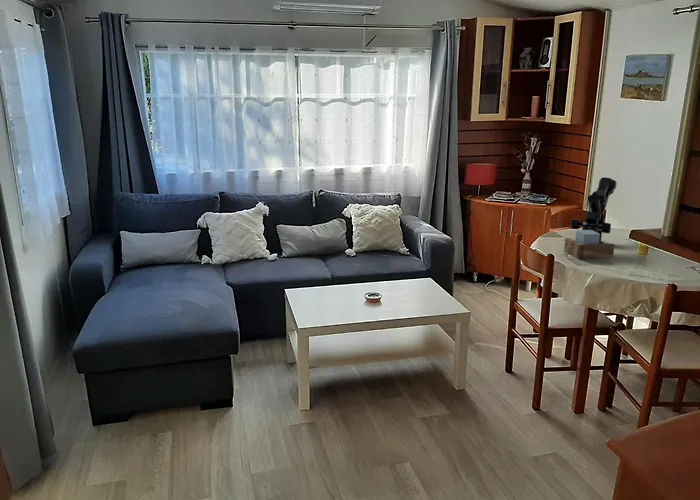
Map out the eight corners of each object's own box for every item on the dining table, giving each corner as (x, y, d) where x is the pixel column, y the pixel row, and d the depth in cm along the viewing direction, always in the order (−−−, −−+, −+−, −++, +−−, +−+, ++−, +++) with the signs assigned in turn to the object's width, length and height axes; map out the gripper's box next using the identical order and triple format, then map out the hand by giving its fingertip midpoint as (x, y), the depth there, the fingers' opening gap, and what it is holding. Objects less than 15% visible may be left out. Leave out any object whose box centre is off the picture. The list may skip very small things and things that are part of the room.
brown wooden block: (563, 251, 286) (565, 238, 284) (596, 250, 289) (598, 237, 287) (578, 259, 273) (580, 245, 271) (612, 258, 276) (614, 244, 274)
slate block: (573, 253, 283) (576, 230, 280) (588, 252, 284) (591, 229, 281) (581, 257, 276) (584, 234, 272) (596, 257, 276) (600, 234, 273)
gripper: (573, 203, 287) (567, 228, 281) (613, 207, 278) (607, 233, 272) (574, 215, 296) (568, 240, 289) (613, 220, 286) (607, 245, 280)
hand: (587, 239), depth 282 cm, fingers closed
